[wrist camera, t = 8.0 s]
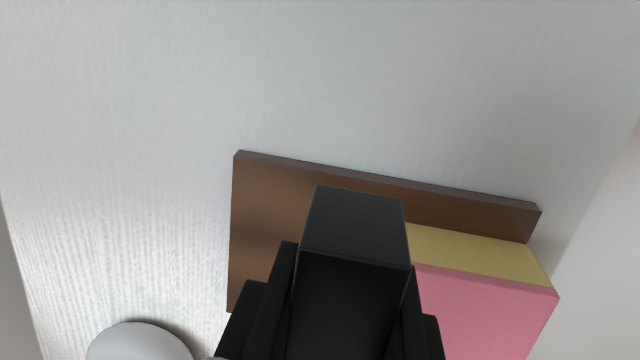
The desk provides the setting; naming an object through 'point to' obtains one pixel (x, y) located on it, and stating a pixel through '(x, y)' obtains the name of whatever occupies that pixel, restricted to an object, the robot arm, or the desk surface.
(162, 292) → the desk surface
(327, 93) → the desk surface
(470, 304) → the cake
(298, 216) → the cake board
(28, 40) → the desk surface
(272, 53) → the desk surface
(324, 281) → the knife
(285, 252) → the robot arm
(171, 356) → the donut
